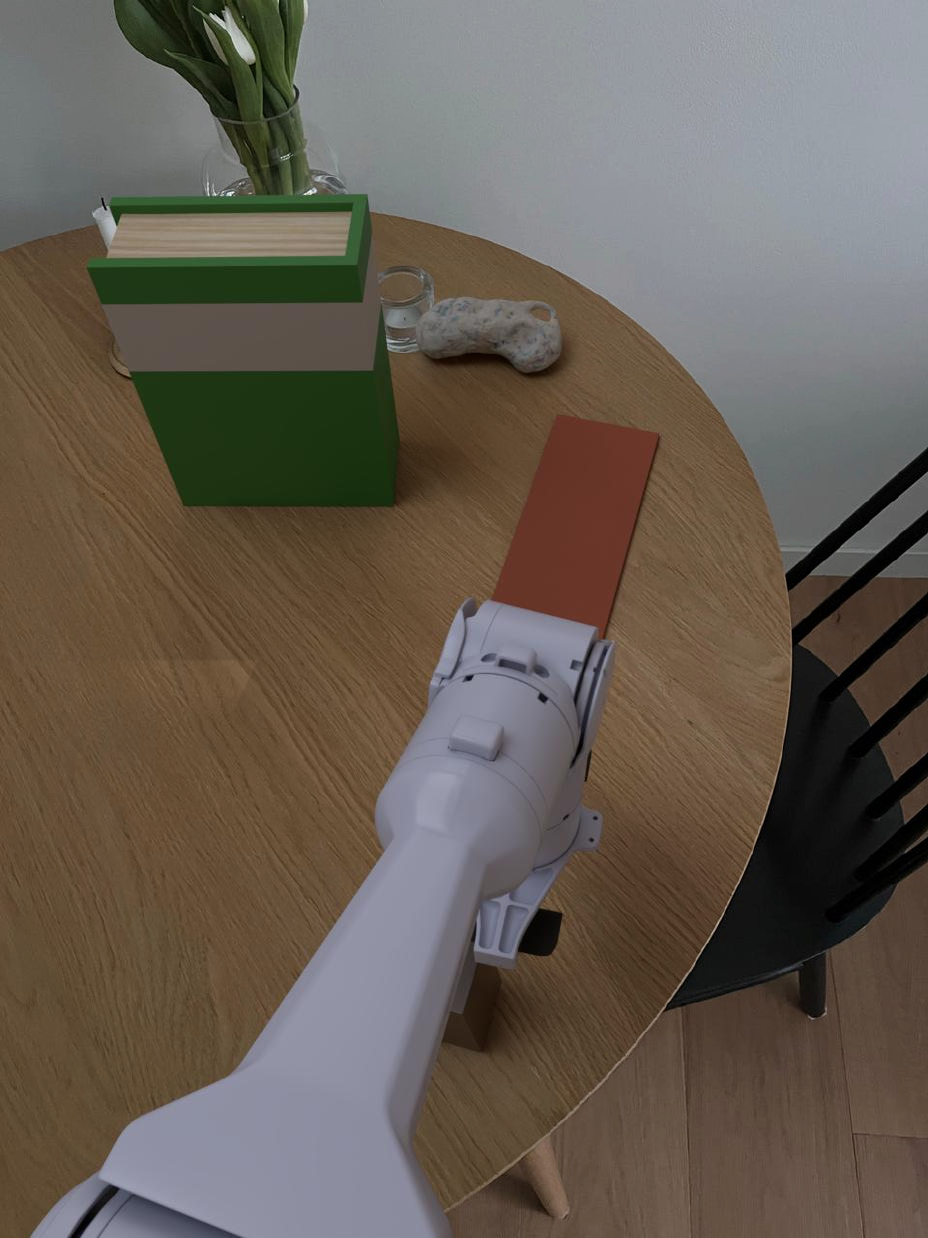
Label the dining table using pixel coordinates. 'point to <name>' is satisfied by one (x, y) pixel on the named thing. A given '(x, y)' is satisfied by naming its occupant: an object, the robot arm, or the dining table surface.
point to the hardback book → (256, 345)
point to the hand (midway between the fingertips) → (522, 878)
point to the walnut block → (473, 1004)
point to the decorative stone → (491, 331)
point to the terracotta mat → (578, 521)
